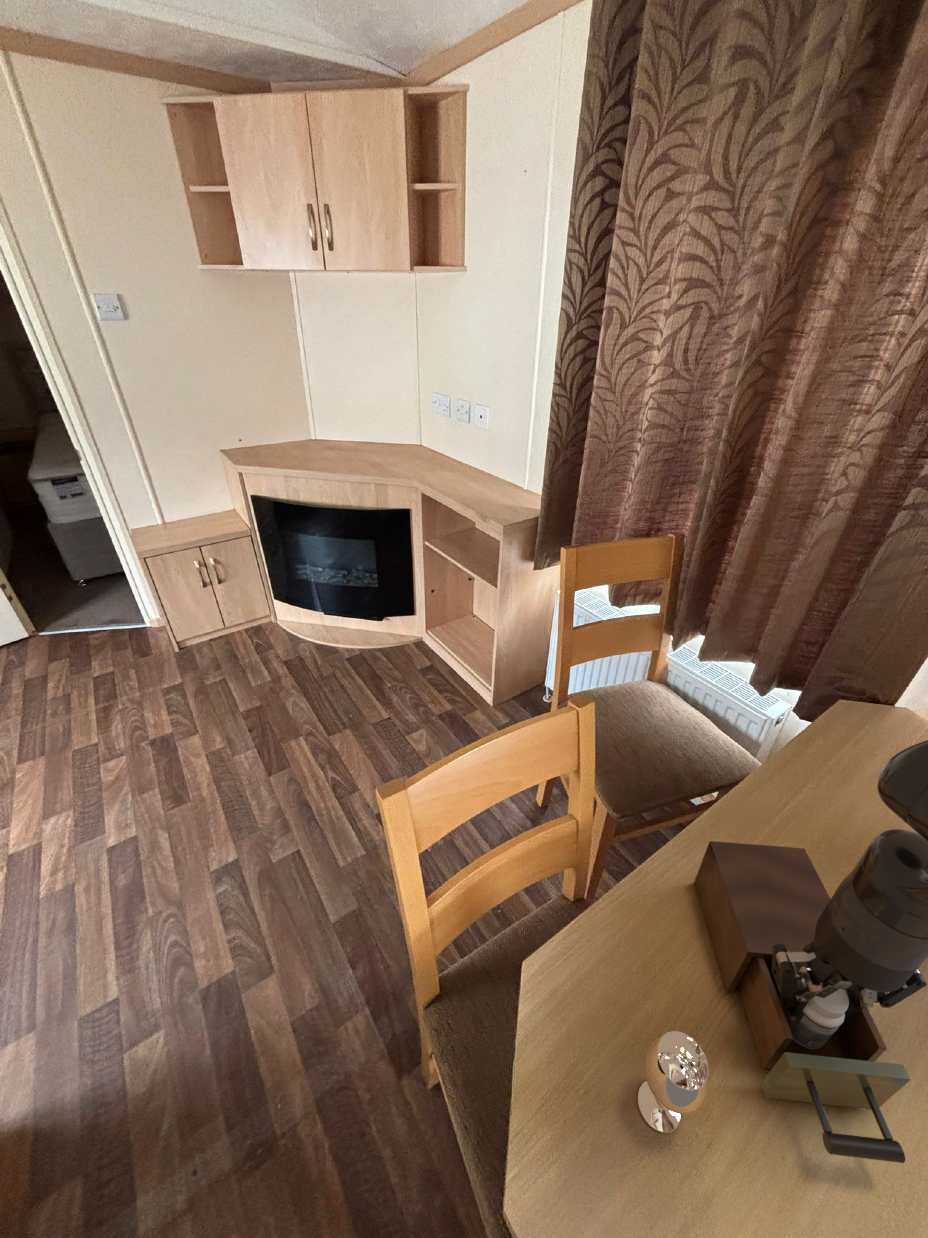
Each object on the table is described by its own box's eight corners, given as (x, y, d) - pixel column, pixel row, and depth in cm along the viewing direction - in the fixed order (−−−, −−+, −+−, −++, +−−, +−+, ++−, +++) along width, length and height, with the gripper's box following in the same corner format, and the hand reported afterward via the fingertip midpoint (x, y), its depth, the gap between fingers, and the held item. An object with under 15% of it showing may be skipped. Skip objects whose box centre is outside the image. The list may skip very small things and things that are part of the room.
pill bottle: (780, 993, 63) (803, 958, 59) (825, 1017, 61) (853, 982, 57) (777, 1034, 60) (801, 1000, 55) (825, 1060, 58) (854, 1027, 53)
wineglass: (621, 1105, 57) (640, 1059, 51) (647, 1058, 60) (668, 1010, 54) (671, 1158, 53) (698, 1116, 47) (696, 1106, 57) (725, 1060, 50)
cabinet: (831, 1004, 65) (863, 963, 59) (725, 994, 66) (748, 952, 61) (781, 890, 77) (804, 848, 72) (693, 883, 78) (709, 840, 73)
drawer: (908, 1182, 51) (949, 1156, 47) (786, 1167, 52) (814, 1139, 48) (816, 971, 67) (840, 937, 63) (724, 962, 68) (741, 928, 64)
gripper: (815, 961, 47) (760, 1043, 55) (989, 977, 45) (904, 1058, 54) (780, 881, 53) (735, 966, 62) (932, 893, 52) (864, 978, 61)
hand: (815, 1008), depth 58 cm, fingers closed on pill bottle, 4 cm apart
